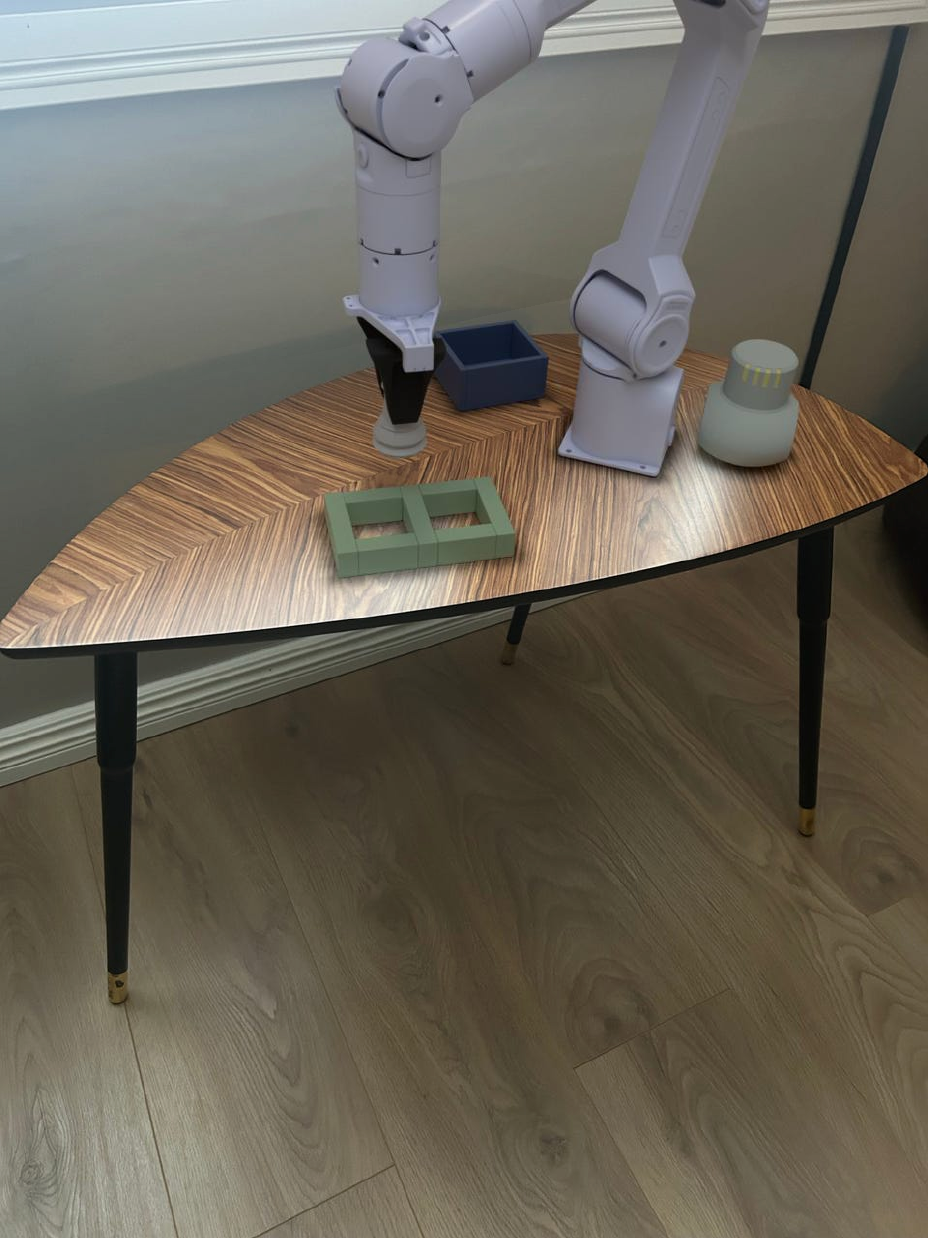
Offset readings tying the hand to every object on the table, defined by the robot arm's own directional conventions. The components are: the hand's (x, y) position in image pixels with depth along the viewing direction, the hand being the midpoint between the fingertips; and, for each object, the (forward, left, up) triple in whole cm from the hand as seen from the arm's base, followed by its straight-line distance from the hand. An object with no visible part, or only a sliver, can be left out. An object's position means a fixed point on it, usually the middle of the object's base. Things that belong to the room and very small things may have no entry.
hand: (399, 408), depth 79 cm
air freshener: (-26, -22, -11) cm, 36 cm away
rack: (-3, +2, -10) cm, 11 cm away
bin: (0, -24, -10) cm, 26 cm away
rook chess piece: (0, 0, -4) cm, 4 cm away
